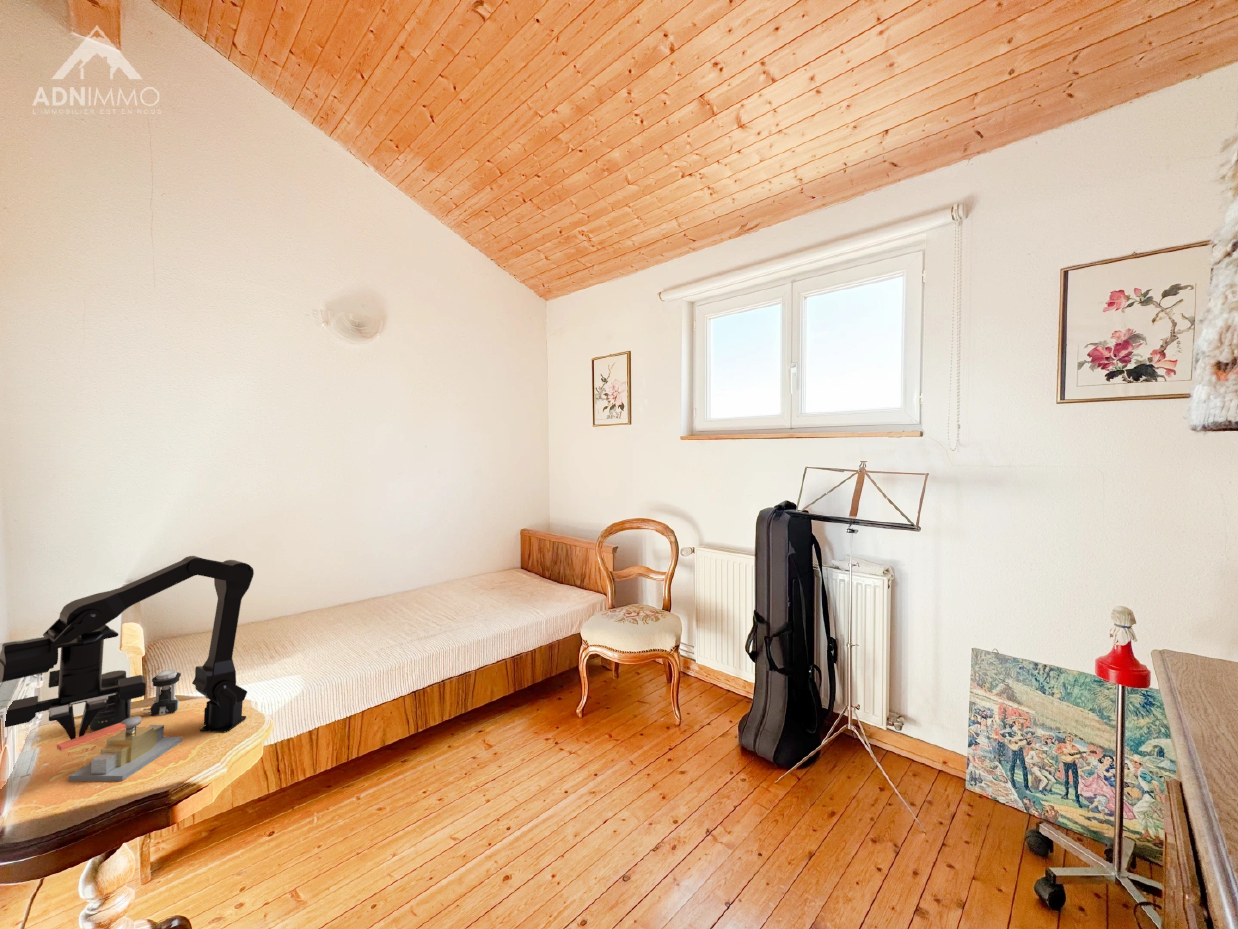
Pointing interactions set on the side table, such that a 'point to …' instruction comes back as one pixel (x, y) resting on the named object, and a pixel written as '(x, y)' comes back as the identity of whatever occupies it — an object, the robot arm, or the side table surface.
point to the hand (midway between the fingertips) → (76, 741)
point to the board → (129, 767)
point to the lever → (100, 733)
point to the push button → (165, 693)
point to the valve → (126, 747)
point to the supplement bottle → (112, 704)
